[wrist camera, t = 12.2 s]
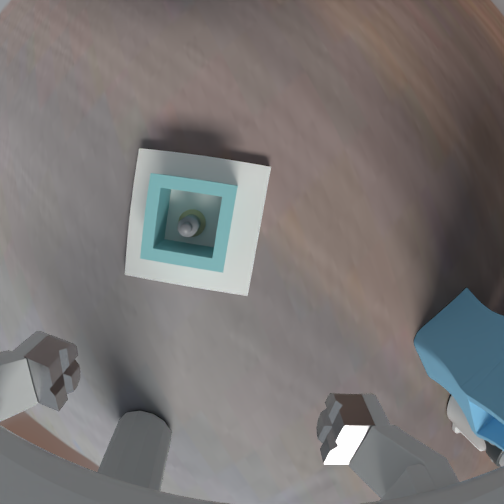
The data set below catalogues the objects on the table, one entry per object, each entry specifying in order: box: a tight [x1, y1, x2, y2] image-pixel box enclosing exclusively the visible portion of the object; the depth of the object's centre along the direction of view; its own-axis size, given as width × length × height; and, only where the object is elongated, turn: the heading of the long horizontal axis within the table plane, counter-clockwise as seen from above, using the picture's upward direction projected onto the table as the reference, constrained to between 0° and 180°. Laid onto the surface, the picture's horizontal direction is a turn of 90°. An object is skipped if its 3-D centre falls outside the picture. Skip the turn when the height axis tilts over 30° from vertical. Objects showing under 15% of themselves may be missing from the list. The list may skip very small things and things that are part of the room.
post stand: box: [125, 148, 271, 296], centre depth 26 cm, size 12×12×5 cm
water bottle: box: [98, 411, 172, 491], centre depth 22 cm, size 9×8×25 cm
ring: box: [140, 173, 238, 273], centre depth 25 cm, size 7×7×4 cm
